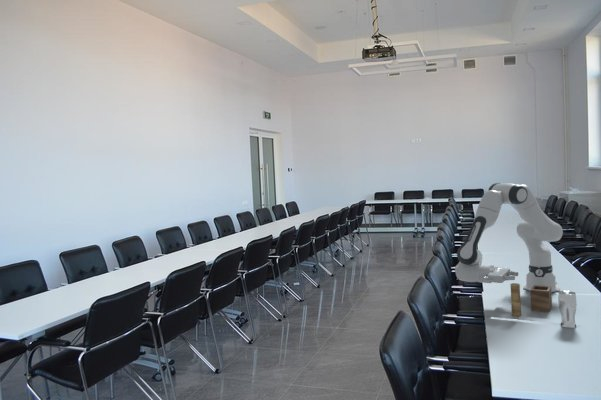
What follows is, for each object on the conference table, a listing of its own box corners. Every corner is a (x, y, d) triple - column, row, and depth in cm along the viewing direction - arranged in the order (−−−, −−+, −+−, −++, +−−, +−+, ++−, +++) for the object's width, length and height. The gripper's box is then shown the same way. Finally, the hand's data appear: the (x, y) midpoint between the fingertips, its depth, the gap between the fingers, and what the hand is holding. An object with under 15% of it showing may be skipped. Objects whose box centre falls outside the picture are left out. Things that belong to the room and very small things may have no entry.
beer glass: (575, 323, 219) (573, 290, 218) (579, 328, 212) (578, 294, 211) (557, 323, 221) (556, 290, 220) (561, 328, 214) (560, 294, 213)
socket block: (534, 304, 246) (533, 285, 246) (552, 306, 242) (551, 286, 241) (531, 310, 238) (530, 290, 237) (549, 312, 234) (548, 291, 233)
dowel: (512, 315, 235) (511, 283, 234) (521, 316, 233) (520, 283, 232) (511, 318, 232) (509, 285, 231) (520, 319, 230) (518, 285, 229)
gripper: (482, 272, 244) (512, 274, 236) (491, 264, 261) (519, 266, 253) (483, 284, 244) (512, 287, 236) (492, 276, 261) (520, 278, 253)
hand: (516, 276), depth 245 cm, fingers open, 8 cm apart
